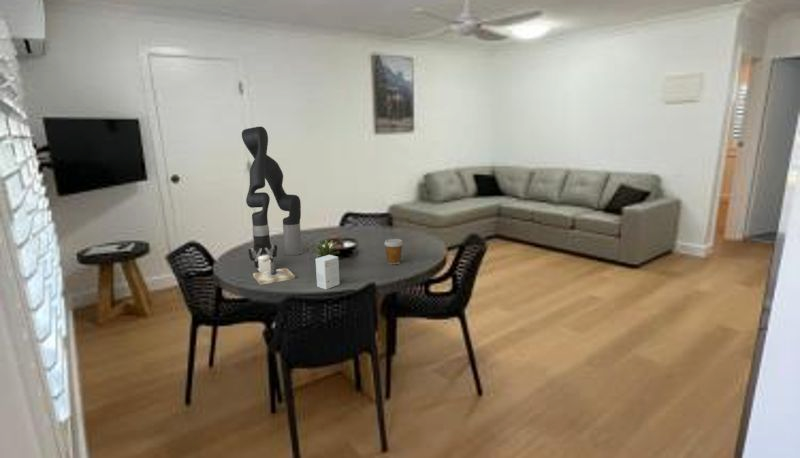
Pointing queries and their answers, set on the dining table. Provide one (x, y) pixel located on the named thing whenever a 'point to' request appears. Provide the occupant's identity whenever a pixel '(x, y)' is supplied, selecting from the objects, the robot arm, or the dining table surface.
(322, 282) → the small box
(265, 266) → the knob
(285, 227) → the robot arm
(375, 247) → the dining table surface
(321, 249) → the house plant
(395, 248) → the disposable coffee cup
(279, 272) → the dial board
